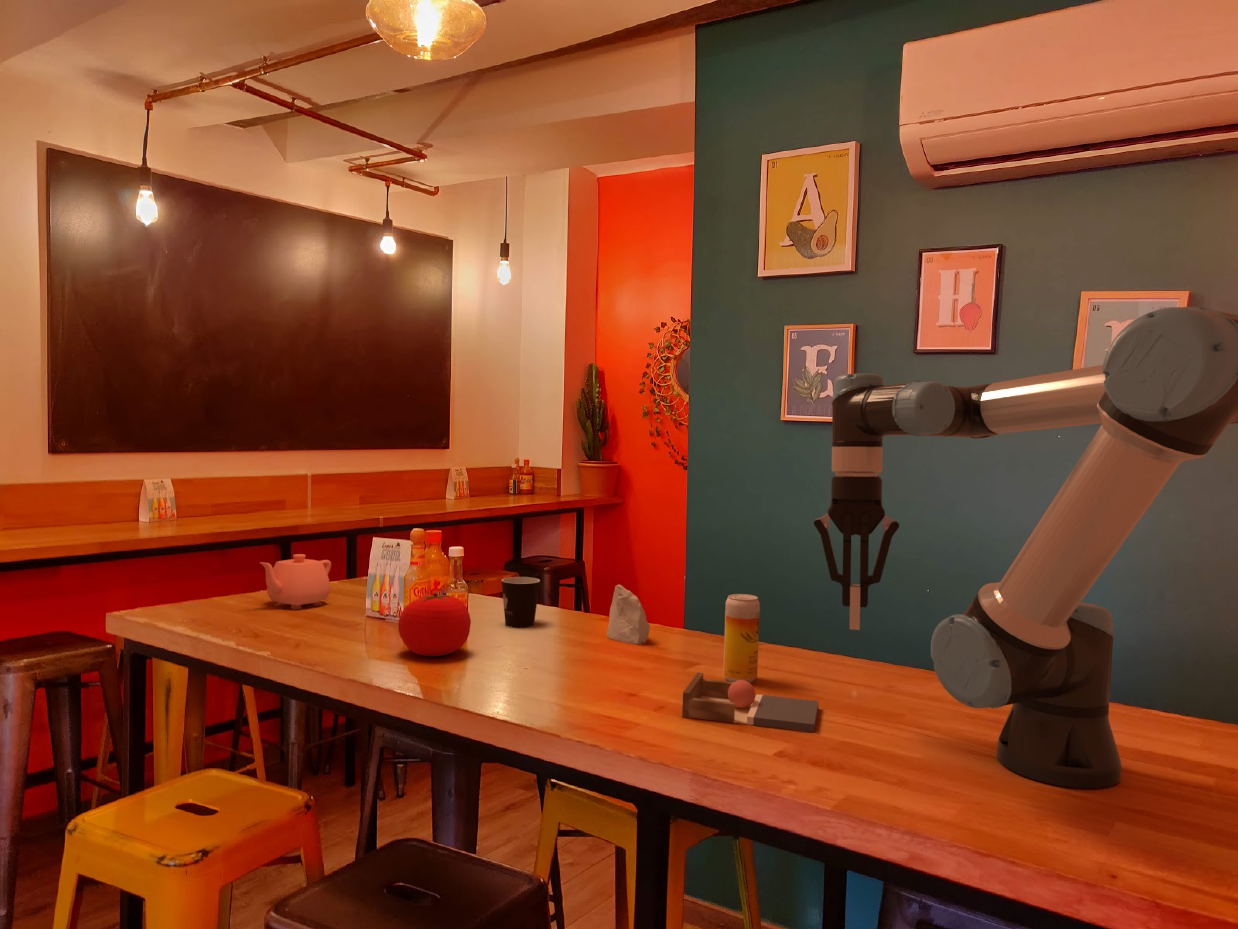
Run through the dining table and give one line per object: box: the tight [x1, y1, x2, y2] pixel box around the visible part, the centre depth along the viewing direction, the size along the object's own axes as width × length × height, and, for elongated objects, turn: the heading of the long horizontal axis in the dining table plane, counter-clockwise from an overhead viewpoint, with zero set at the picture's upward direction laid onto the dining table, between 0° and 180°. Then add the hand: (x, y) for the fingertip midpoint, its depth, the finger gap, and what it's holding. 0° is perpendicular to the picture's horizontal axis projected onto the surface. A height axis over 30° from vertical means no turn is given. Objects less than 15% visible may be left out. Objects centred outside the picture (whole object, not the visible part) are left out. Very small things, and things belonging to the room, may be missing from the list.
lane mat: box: [700, 693, 819, 733], centre depth 139 cm, size 20×12×1 cm, turn 74°
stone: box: [606, 584, 651, 646], centre depth 185 cm, size 10×5×12 cm, turn 40°
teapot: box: [258, 553, 332, 610], centre depth 209 cm, size 13×20×12 cm, turn 147°
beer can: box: [722, 593, 761, 684], centre depth 157 cm, size 6×6×15 cm
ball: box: [728, 680, 756, 708], centre depth 140 cm, size 4×4×4 cm
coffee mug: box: [501, 576, 541, 629], centre depth 197 cm, size 12×9×10 cm
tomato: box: [397, 592, 472, 657], centre depth 169 cm, size 13×14×12 cm
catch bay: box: [681, 672, 735, 724], centre depth 140 cm, size 8×12×4 cm, turn 164°
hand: (854, 627), depth 135 cm, fingers closed
